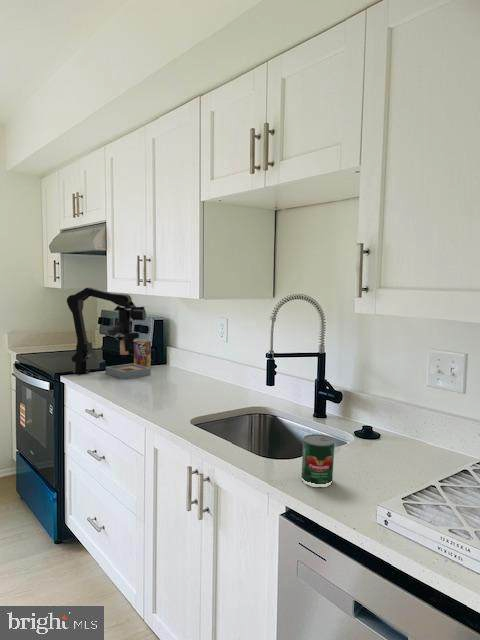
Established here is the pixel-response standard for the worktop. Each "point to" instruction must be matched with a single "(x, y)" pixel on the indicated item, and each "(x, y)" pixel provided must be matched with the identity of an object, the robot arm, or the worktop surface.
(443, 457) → the worktop surface
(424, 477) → the worktop surface
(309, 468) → the canned tomato
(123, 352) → the peg
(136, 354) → the candy box
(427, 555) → the worktop surface
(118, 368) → the bin
